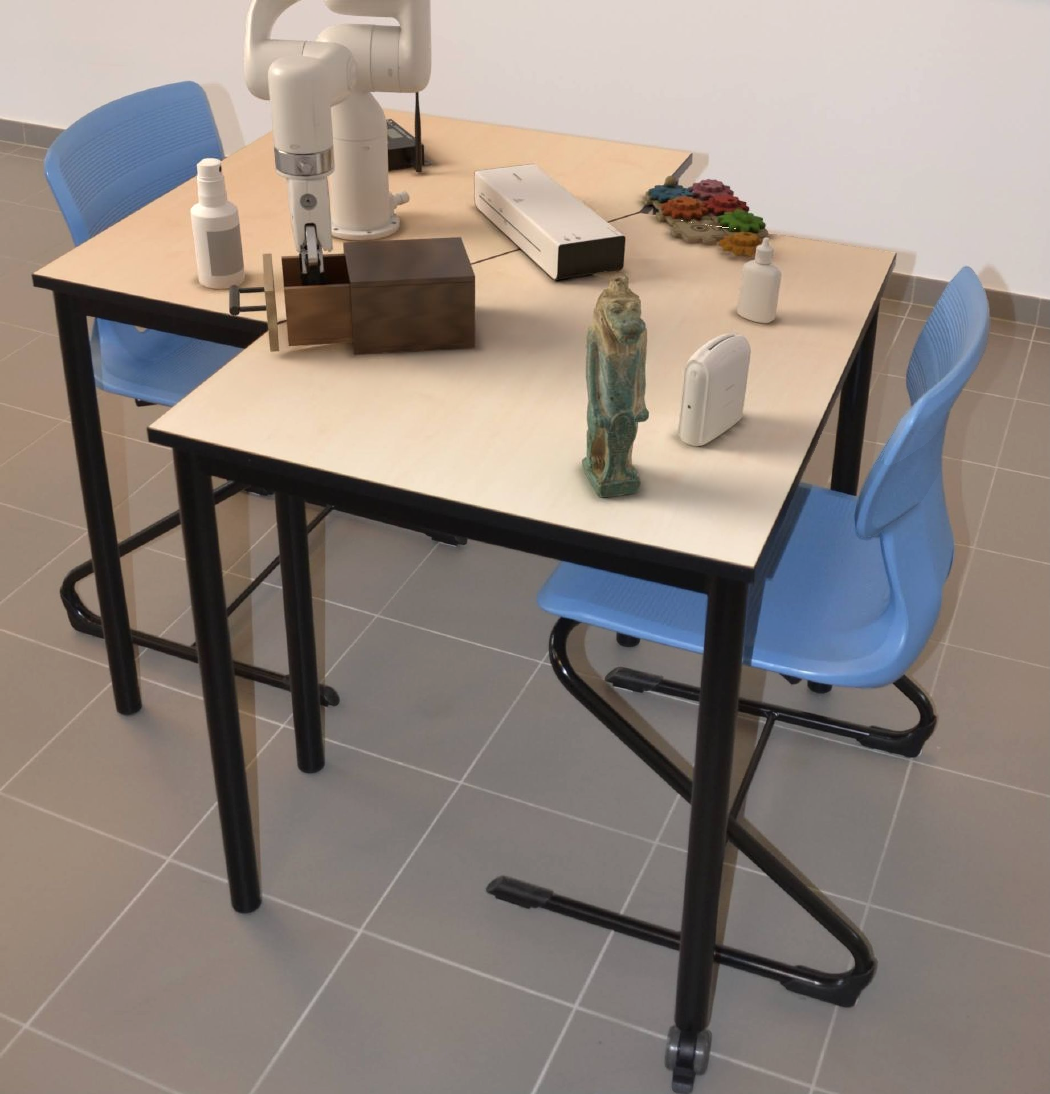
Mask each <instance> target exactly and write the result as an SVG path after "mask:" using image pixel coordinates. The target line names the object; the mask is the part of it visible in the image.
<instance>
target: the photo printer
mask: <svg viewBox="0 0 1050 1094" xmlns="http://www.w3.org/2000/svg"><path fill="white" fill-rule="evenodd" d="M751 351H752V350H751V344H750V342H749V340H748V338H747V337H746V336H744V335H740V334H738V333H737V332H729V333H723V334H720V335H718V336H715V337H714V338H712V339H710V340H709V341H707V342H706V343H704V344H703V345H702V346H701V347H699V348H698V349H697V350H696V351H695V352H694V353H693V354H692V355H691V356H690V358H689V359H688V360H687V362H686V364H685V366H684V370H683V381H682V389H681V391H682V392H681V400H680V410H679V420H678V429H677V435H678V437H680V441H682V443H684V444H686V445H688V446H693V447H699V446H704V445H706V444H708V443H710V442H712V441H713V440H715V439H716V438H717V437H719V436H720V435H722V434H723V433H725V432H726V431H728V430H729V429H731V428H732V427H733V426H735V425H736V424H738V423H739V421H740V420H741V419H742V418H743V417H742V416H743V414H744V413H743V412H744V407H745V399H746V392H747V384H748V378H749V377H748V376H749V369H750V362H751V353H752V352H751Z"/></svg>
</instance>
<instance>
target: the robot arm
mask: <svg viewBox="0 0 1050 1094" xmlns="http://www.w3.org/2000/svg"><path fill="white" fill-rule="evenodd" d="M300 1H301V0H252V1H251V2H250V4H249V8H248V11H247V15H246V19H245V32H244V42H243V43H244V44H243V59H242V61H243V63H242V64H243V78H244V82H245V85H246V88H247V90H248V92H249V93H250V94H251V95H252V96H253V97H255V98H257V99H258V100H259V99H260V100H262V101H269V102H270V103H269V104H270V116H271V127H272V138H273V139H272V140H273V148H274V149H273V151H274V152H273V153H274V162H275V163H274V165H275V172H276V174H277V175H278V176H279V177H282V178H285V181H286V192H287V193H286V194H287V201H288V202H287V203H288V211H289V218H290V225H291V231H292V236H293V242H294V246H295V250H296V252H297V253H298V256H299V261H300V274H301V281H302V286H314V285H326V273H325V271H324V264H323V254H324V252H323V251H325V252H326V251H327V253H331V252H332V251H333V250H334V245H333V244H334V243H333V237H335V238H337V239H341V240H347V241H374V240H378V239H384V238H387V237H389V236H391V235H393V234H395V233H396V232H398V230H399V228H400V226H401V222H400V216H398V215H397V214H396V213H395V210H396V209H397V208H398V206H402V205H404V204H407V203H409V202H410V194H409V193H408V192H407V191H405V190H403V191H399V192H397V193H395V194H393V193H392V191H391V190H390V182H389V179H390V177H389V171H388V149H387V122H386V120H387V118H386V117H387V116H386V114H385V112H384V109H383V107H382V106H381V105H380V103H379V101H378V100H377V99H376V97H375V96H374V95H373V94H372V93H376V92H377V93H395V94H397V93H398V94H402V93H403V94H415V92H419V93H420V92H422V91H424V90H425V89H426V88H427V87H428V85H429V83H430V80H431V74H432V13H431V12H432V11H431V9H432V8H431V7H432V6H431V0H323V1H324V5H325V6H326V8H328V10H329V11H331V12H333V13H336V14H338V15H343V16H351V17H352V16H353V17H372V18H373V17H374V18H392V19H394V20H396V21H397V22H398V25H380V24H369V23H368V24H367V23H337V24H333V25H330V26H327V27H325V28H324V29H323V30H322V31H321V32H319V34H318V36H317V37H316V41H311V40H310V41H309V40H299V39H298V40H296V39H295V40H294V39H275V38H273V39H272V38H271V35H272V30H273V28H274V25H275V24H276V21H277V20H278V19H279V18H280V16H281V15H282V14H283V13H284V12H285V11H286V10H288V9H289V8H290V7H292V6H293V5H295V4H296V3H298V2H300Z"/></svg>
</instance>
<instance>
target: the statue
mask: <svg viewBox="0 0 1050 1094" xmlns="http://www.w3.org/2000/svg"><path fill="white" fill-rule="evenodd" d="M629 282H630V277H629V276H628V275H626V274H619V275H617V276H614V277H612V278H611V279H610V280H609V284H608V287H606V288H605V289H603V290H602V292H601V293H600V294H599V295H598V298H597V300H596V303H595V307H594V308H593V309H594V310H593V322H592V323H591V324H590V325H589V327H588V330H587V334H586V357H585V382H586V390H587V409H586V425H587V429H586V453H585V454H586V456H585V457H584V458H582V459H581V465H582V469H583V471H584V474H585V475H586V477H587V479H588V480H589V483H590V484H591V487H592V488H593V490H594V491H595V493H596V495H597V496H598V497H599V498H611V497H620V496H625V495H628V494H629V495H630V494H636V493H638V492H639V490H640V487H641V478H640V476H639V473H638V470H637V469H636V468H635V466H634V465H633V458H632V456H633V448H634V442H635V441H636V438H637V434H638V431H639V430H638V429H639V423H645V422H647V420H649V417H650V411H649V410H648V409H647V405H646V399H645V396H646V386H647V380H646V363H647V351H648V349H647V347H648V329H647V324H646V322H645V321H644V320H643V318H641V316H642V300H641V298H640V295H638V294H637V293H635V292H633V291H632V290H631V288H630V287H629V285H630V284H629Z"/></svg>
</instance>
